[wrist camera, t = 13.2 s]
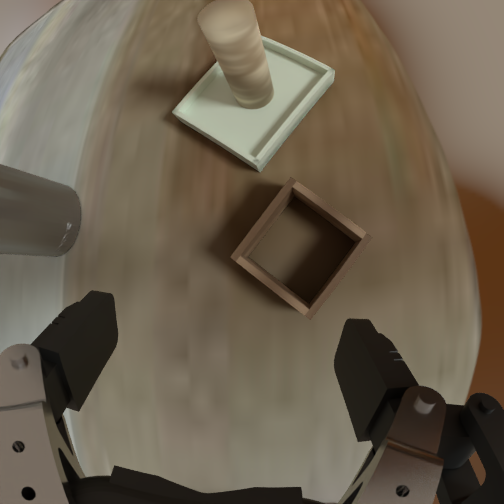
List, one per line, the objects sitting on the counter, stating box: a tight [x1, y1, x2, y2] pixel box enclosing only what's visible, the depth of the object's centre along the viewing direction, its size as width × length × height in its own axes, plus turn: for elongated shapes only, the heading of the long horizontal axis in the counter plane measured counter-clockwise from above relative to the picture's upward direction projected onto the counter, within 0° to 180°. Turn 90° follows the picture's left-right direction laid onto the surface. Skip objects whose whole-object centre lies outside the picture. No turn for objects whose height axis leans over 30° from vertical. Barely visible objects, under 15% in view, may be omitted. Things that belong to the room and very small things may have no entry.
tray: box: [172, 36, 335, 172], centre depth 28 cm, size 11×13×2 cm
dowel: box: [198, 0, 274, 109], centre depth 22 cm, size 4×4×12 cm
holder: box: [231, 177, 372, 320], centre depth 25 cm, size 8×8×4 cm
